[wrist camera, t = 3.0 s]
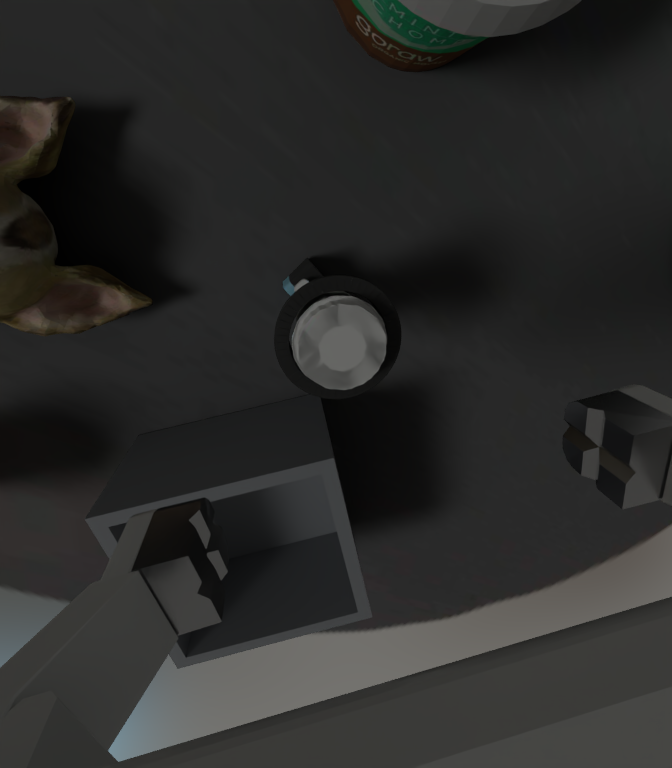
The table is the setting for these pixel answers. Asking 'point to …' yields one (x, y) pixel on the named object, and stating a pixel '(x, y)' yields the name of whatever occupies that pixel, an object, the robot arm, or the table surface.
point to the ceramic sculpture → (45, 233)
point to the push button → (335, 334)
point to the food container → (438, 26)
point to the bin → (251, 520)
